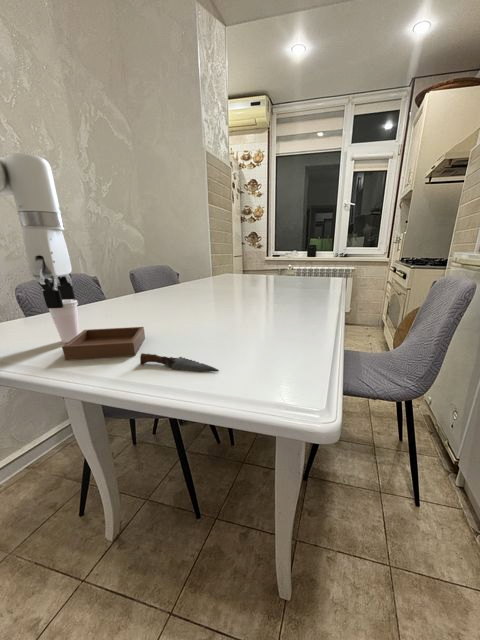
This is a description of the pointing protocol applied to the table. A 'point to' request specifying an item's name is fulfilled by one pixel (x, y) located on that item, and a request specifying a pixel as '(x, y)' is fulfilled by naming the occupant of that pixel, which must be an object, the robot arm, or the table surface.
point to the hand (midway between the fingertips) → (62, 304)
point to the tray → (104, 343)
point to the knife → (176, 363)
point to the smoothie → (66, 319)
